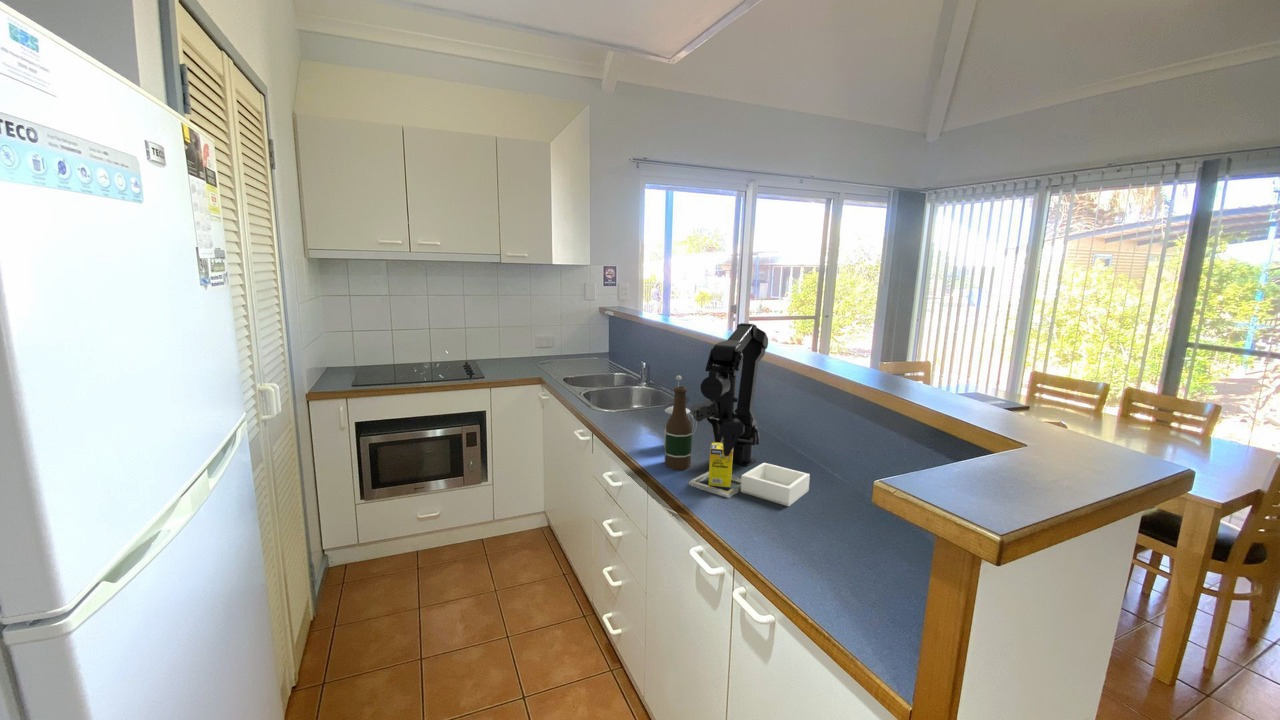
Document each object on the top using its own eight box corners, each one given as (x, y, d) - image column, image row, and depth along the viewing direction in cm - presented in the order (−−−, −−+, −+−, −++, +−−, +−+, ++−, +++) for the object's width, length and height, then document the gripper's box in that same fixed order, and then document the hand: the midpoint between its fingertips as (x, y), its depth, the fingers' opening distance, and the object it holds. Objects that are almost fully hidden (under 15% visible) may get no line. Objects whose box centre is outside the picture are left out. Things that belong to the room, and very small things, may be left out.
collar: (712, 473, 145) (712, 469, 145) (750, 484, 137) (750, 480, 137) (688, 485, 136) (689, 481, 135) (728, 498, 128) (728, 493, 128)
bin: (763, 478, 142) (763, 462, 141) (808, 490, 134) (809, 474, 133) (740, 492, 132) (741, 475, 131) (788, 506, 124) (789, 488, 123)
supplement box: (730, 490, 133) (733, 450, 131) (707, 488, 134) (709, 448, 132) (731, 482, 139) (733, 443, 137) (709, 480, 140) (711, 441, 138)
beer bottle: (672, 474, 143) (675, 391, 140) (659, 465, 150) (661, 385, 147) (695, 470, 147) (699, 389, 144) (681, 461, 154) (684, 384, 150)
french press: (655, 449, 165) (657, 373, 161) (687, 445, 170) (689, 372, 166) (669, 459, 156) (671, 379, 153) (702, 454, 161) (705, 377, 157)
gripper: (687, 385, 141) (685, 439, 143) (702, 400, 123) (699, 462, 125) (726, 385, 142) (723, 439, 145) (746, 400, 124) (743, 461, 126)
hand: (721, 449), depth 135 cm, fingers open, 9 cm apart
